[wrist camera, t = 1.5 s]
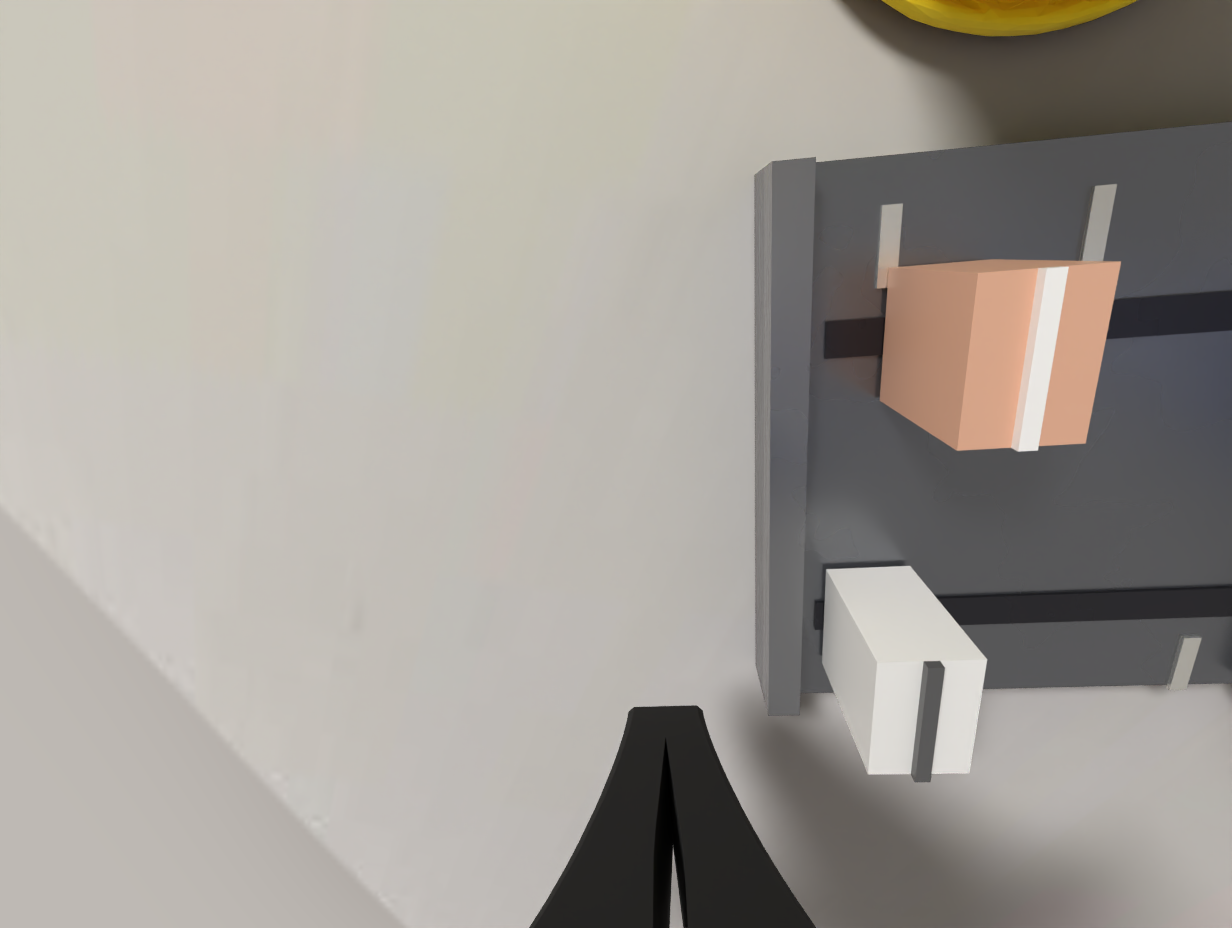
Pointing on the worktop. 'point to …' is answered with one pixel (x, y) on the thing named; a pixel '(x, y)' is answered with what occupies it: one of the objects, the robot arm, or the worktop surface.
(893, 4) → the stacking cups
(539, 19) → the worktop surface
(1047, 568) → the fader board
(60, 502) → the worktop surface
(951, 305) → the fader terracotta
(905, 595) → the fader white
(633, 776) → the robot arm
